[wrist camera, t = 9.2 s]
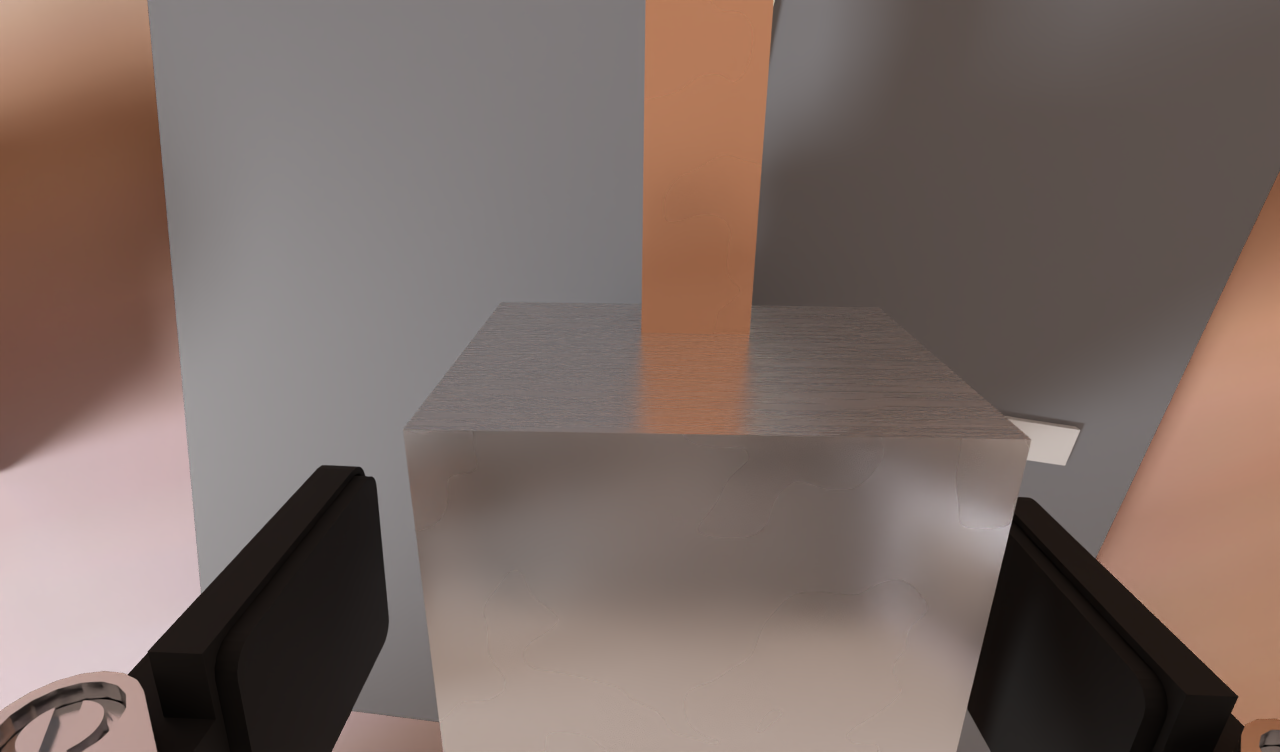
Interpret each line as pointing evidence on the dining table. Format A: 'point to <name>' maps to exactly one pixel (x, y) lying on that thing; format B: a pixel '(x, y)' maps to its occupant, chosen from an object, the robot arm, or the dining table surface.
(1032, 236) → the base board
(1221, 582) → the dining table surface
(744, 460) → the mallet
